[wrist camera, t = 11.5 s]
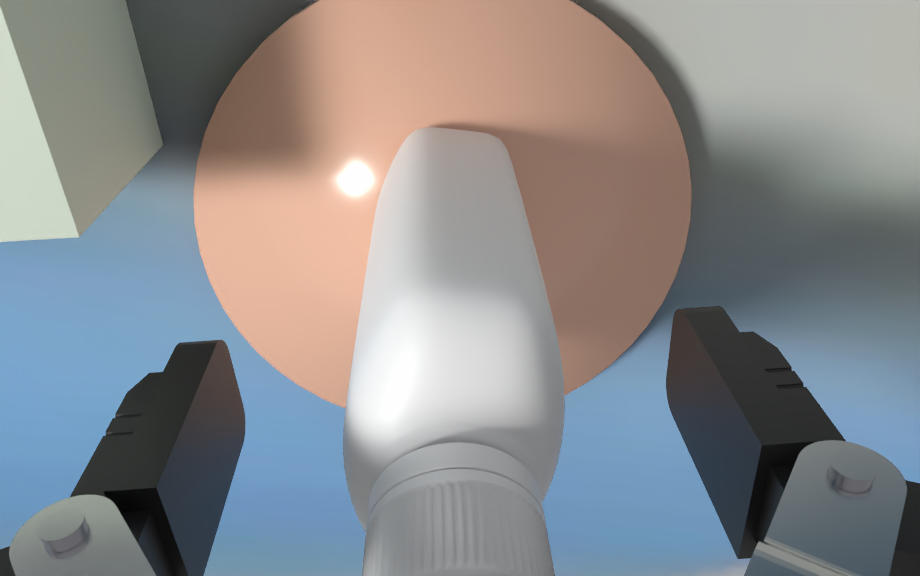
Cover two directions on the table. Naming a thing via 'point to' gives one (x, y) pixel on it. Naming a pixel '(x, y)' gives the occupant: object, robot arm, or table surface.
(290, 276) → the salmon disc
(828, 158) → the table surface
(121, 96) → the sage block
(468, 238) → the eye dropper bottle
